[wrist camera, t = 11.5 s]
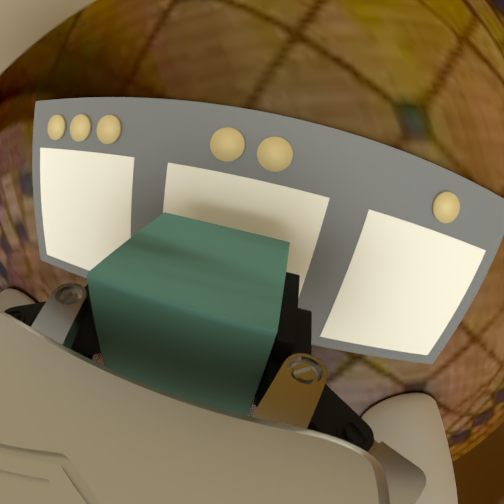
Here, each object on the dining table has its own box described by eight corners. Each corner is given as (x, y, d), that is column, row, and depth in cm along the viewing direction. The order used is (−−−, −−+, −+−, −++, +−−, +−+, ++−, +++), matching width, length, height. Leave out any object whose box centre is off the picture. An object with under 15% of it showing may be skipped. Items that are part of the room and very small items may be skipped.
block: (262, 339, 13) (241, 431, 9) (160, 310, 13) (110, 386, 9) (289, 242, 11) (277, 331, 6) (164, 212, 11) (86, 273, 7)
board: (427, 352, 17) (433, 367, 16) (50, 253, 19) (38, 261, 18) (503, 198, 12) (517, 206, 11) (47, 100, 14) (32, 101, 13)
